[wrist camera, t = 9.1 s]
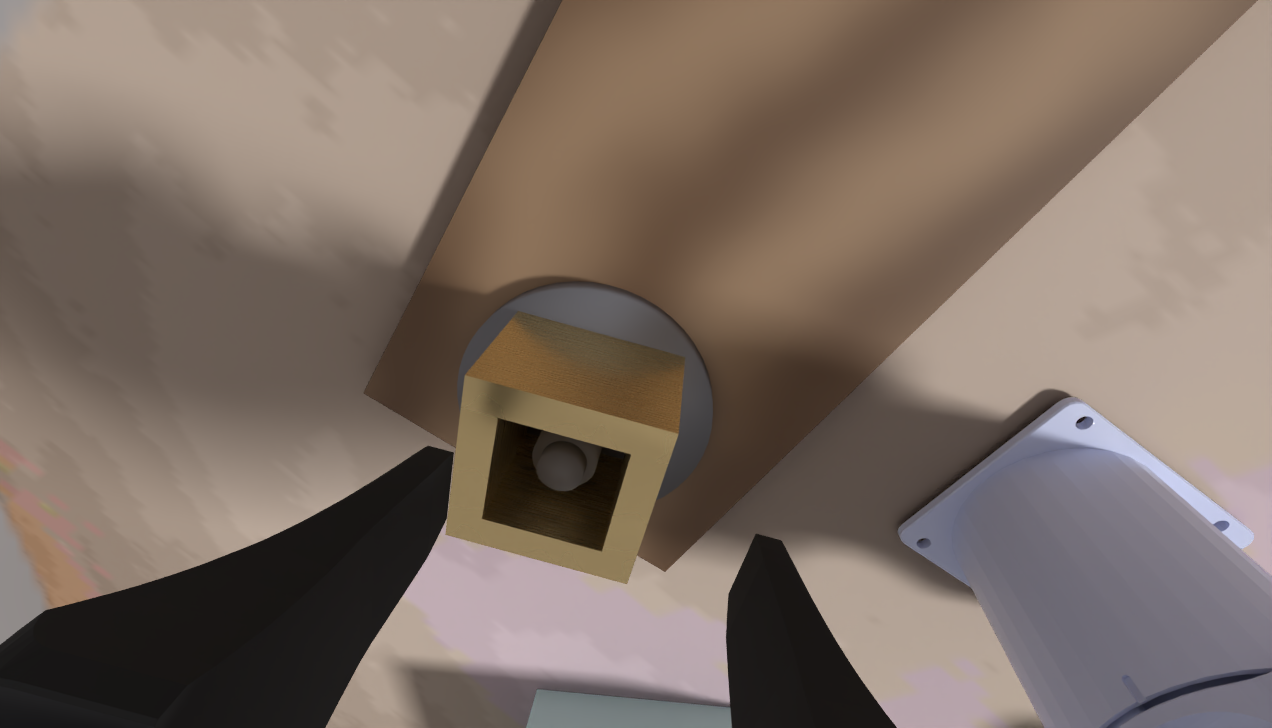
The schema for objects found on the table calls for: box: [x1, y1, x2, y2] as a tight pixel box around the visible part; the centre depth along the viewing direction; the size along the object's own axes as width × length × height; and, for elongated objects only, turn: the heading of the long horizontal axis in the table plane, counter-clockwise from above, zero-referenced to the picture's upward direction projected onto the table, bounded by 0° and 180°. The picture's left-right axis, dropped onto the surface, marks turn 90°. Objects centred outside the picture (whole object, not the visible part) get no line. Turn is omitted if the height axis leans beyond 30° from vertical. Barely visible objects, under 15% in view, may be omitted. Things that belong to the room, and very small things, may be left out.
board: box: [364, 0, 1258, 572], centre depth 15 cm, size 14×28×5 cm, turn 146°
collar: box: [446, 311, 685, 584], centre depth 18 cm, size 6×6×4 cm
